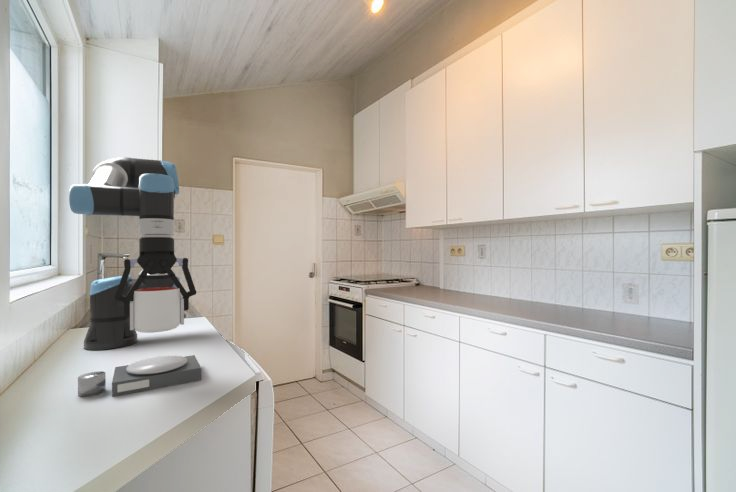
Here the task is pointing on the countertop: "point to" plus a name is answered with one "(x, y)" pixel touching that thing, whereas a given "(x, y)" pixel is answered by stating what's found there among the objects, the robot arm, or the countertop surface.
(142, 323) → the cup
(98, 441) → the countertop surface
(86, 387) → the cylinder
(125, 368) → the scale
